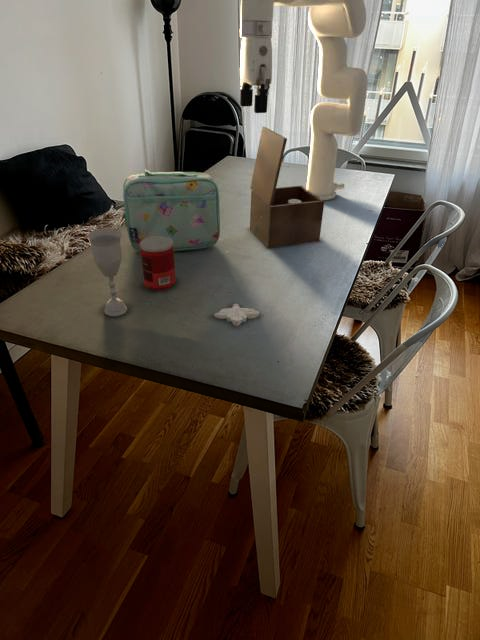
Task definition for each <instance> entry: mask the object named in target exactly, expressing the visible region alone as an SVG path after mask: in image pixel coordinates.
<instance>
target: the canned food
mask: <svg viewBox="0 0 480 640" xmlns="http://www.w3.org/2000/svg"><path fill="white" fill-rule="evenodd" d="M139 253H140V261H141V270H142V278H143V279H142V280H143V284H144V286H145V287H146V288H147V289H149V290H151V291H165V290H168V289H171V288H172V287H173V286H174V285H175V283H176V280H177V279H176V265H175V264H176V261H175V251H174V245H173V240H172V239H171V238H169V237H165V236H152V237H148V238H145V239H143V240H142V241H141V242H140V252H139Z"/></svg>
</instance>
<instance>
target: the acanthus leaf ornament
mask: <svg viewBox="0 0 480 640" xmlns="http://www.w3.org/2000/svg"><path fill="white" fill-rule="evenodd" d="M259 315H260V311H258V310H255V309H254V308H248V307H240V305H239V304H238V303H234V304H232V306H231V307H227V308H222V309H219V311H218V312H215V313H214V314H213V317H214V318H217V319H221V320H224V319H226V321H227V322H231V323H232V325H233V326H235V327H238V326H240V325H241V323H245V322H246V321H247V319H255V318H258V317H259Z"/></svg>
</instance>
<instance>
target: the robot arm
mask: <svg viewBox="0 0 480 640" xmlns="http://www.w3.org/2000/svg"><path fill="white" fill-rule="evenodd" d="M365 4H366V3H365V0H240V23H239V27H240V28H239V37H240V38H241V39H242V40H241V47H240V62H239V63H240V65H239V66H240V67H239V77H240V78H239V81H240V84H239V88H240V95H239V96H240V99H239V106H240V107H252V106H253V103H254V108H253V112H254V113H255V114H267V112H268V101H269V100H268V99H269V93H270V91H269V90H270V88H271V87H270V85H271V84H272V81H273V43H272V38H273V27H274V26H273V25H274V6H279V7H280V6H284V7H291V8H304V7H306V8H307V7H309V10H308V13H307V14H308V15H307V21H308V26H309V29H310V31H311V32H312V34H313V35H314V36H315V39H316V41H317V43H318V47H319V63H318V77H317V92H318V95H319V96H320V97H322V98H326V99H330V100H339V101H346V102H347V103H340V102H331V101H322V102H319V103H316V104H315V105H314V106H313V108H312V110H311V113H310V129H311V130H310V131H311V132H310V133H311V134H310V135H311V137H310V138H311V139H310V149H309V159H308V169H307V179H306V180H307V181H306V187H305V188H306V189H307V190H309V191H310V192H312V193H313V194H315V195H316V196H317V197H319V198H320V199H322V200H323V201H328V200H329V201H330V200H332V199H335V198H336V196H337V192H336V191H337V190H344V189H345V184H344V183H338V182H334V179H335V173H336V164H337V157H338V150H339V146H338V145H339V144H338V141H337V139H336V135H339V136H346V137H354V136H357V135H358V134H359V133H360V131H361V129H362V126H363V122H364V115H365V107H366V101H367V93H368V81H369V80H368V75H367V73H366V71H365V70H364V69H362V68H360V67H353V66H352V67H350V66H348V65H347V61H348V45H347V41H346V39H355V38H358V37H360V36H361V35H362V34H363V32H364V30H365V29H366V28H365V27H366V24H367V9H366V5H365ZM345 38H346V39H345ZM253 86H254V89H255V93H256V94H254V89H253ZM253 97H254V102H253Z"/></svg>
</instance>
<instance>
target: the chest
mask: <svg viewBox="0 0 480 640" xmlns="http://www.w3.org/2000/svg"><path fill="white" fill-rule="evenodd" d="M290 199H298V200H301V202H302V203H293V204H288V200H290ZM324 207H325V200H322V199H320V198H319V197H317V196H316V195H315V194H313V193H312V192H310V191H309V190H307V189H306V187H304V186H303V185H293V186H282V187H281V186H280V187H276V190H275V195H274V199H273V203H272V205H269V204H267V203H266V202H265V201H264V200H263V199H262V198H260V197H259V196H258V195H257V194H256V193H255V192H253V191H252V190H251V189H250V214H249V215H250V217H249V230H250V231H251V232H252V233H253V234H254V235H255V236H256V237H257V239H258V240H259V241H260V242H261V243H262V244H263V245H264V246H265V247H266V248H267V249H272V248H279V247H287V246H294V245H301V244H308V243H317V242H320V240H321V231H322V223H323V215H324Z"/></svg>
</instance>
